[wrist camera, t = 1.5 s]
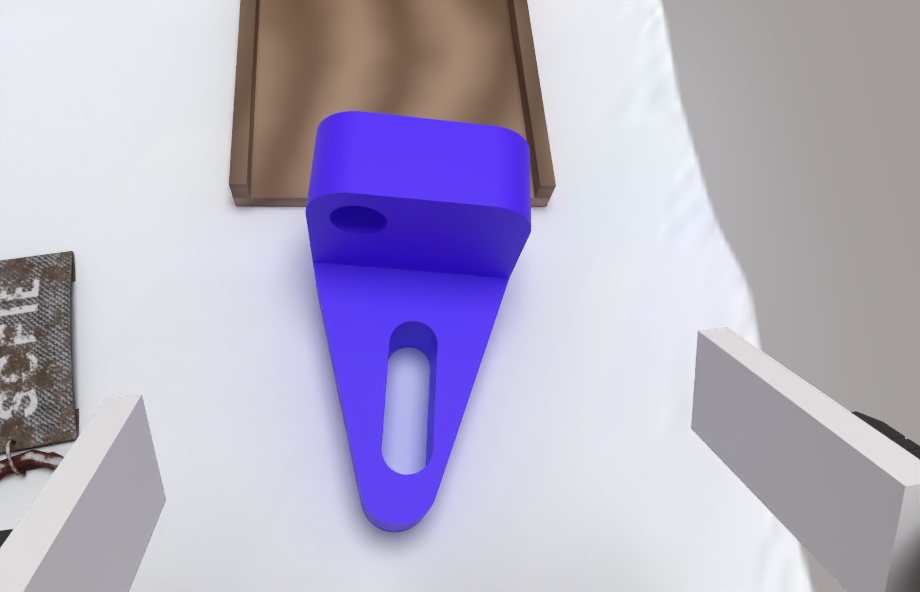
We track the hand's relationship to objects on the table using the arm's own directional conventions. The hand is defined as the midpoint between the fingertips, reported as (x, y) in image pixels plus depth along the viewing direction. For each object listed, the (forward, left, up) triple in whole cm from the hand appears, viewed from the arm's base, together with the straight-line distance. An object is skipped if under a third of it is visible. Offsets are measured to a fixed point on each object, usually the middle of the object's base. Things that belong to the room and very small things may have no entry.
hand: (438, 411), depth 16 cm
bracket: (+1, +8, -23) cm, 24 cm away
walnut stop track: (+1, +29, -22) cm, 37 cm away
